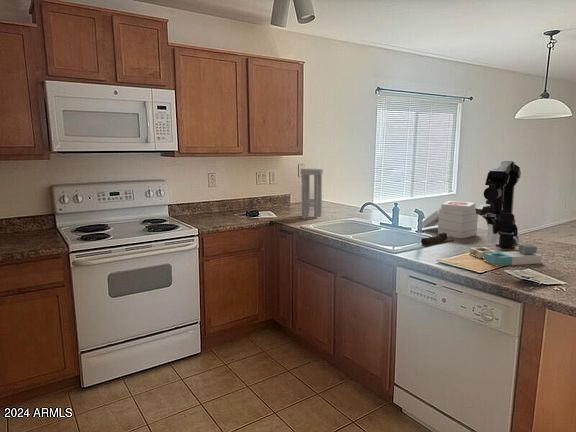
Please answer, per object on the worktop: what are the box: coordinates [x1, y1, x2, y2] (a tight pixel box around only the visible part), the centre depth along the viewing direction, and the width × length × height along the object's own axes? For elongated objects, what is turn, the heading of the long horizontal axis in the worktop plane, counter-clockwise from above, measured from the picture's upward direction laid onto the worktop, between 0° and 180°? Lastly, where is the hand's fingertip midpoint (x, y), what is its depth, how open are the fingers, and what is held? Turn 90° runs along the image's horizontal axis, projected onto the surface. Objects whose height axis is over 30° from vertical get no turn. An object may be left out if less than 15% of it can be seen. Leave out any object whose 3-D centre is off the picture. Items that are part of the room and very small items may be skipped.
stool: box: [300, 167, 324, 219], centre depth 290 cm, size 16×16×35 cm
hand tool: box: [420, 233, 448, 246], centre depth 213 cm, size 19×4×5 cm, turn 120°
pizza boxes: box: [421, 200, 479, 239], centre depth 235 cm, size 19×30×18 cm, turn 33°
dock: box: [483, 250, 543, 266], centre depth 178 cm, size 8×22×4 cm, turn 98°
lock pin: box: [486, 224, 499, 244], centre depth 179 cm, size 3×3×8 cm
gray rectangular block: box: [518, 244, 538, 255], centre depth 179 cm, size 4×6×7 cm
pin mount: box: [469, 246, 497, 259], centre depth 188 cm, size 8×8×3 cm
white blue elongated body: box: [513, 236, 518, 245], centre depth 219 cm, size 5×7×25 cm
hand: (493, 233), depth 179 cm, fingers closed on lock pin, 3 cm apart
